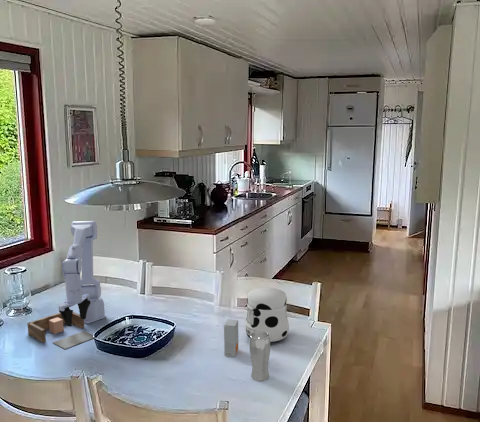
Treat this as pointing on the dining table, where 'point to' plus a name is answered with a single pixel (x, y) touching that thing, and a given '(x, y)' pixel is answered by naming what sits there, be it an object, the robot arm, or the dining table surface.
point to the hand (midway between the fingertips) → (76, 322)
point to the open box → (38, 332)
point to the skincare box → (231, 338)
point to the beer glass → (260, 355)
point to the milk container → (267, 313)
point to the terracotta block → (56, 325)
